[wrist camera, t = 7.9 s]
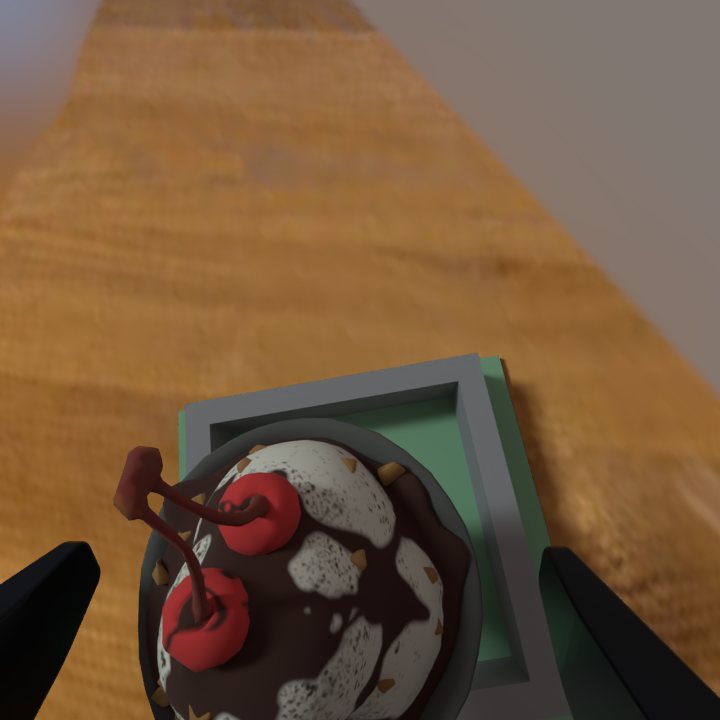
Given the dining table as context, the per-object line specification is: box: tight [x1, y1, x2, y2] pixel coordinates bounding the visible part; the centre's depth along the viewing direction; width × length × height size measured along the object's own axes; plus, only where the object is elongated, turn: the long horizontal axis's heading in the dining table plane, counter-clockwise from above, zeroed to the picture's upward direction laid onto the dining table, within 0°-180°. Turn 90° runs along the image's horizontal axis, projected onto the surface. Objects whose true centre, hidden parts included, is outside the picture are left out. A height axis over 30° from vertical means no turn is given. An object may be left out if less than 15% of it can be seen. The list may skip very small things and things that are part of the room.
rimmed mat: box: [178, 353, 573, 720], centre depth 17 cm, size 15×15×3 cm
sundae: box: [113, 418, 483, 720], centre depth 11 cm, size 7×7×15 cm
